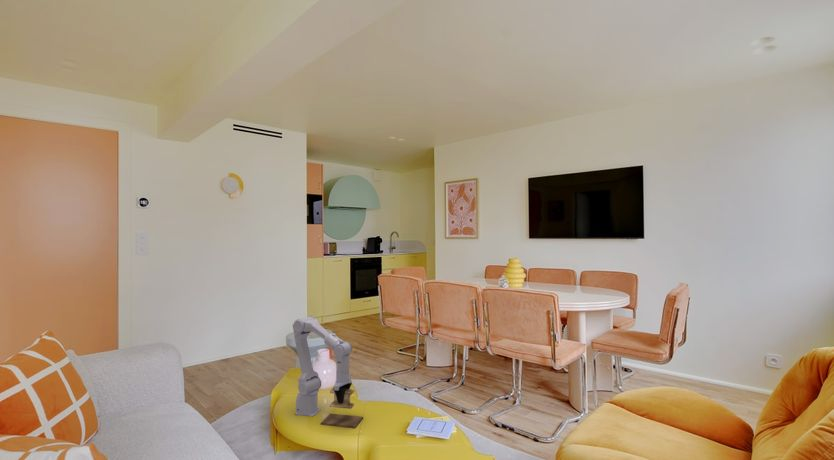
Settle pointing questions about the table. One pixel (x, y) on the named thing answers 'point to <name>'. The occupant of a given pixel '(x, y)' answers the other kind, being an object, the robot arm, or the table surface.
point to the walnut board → (342, 420)
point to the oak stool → (346, 399)
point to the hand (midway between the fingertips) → (342, 401)
